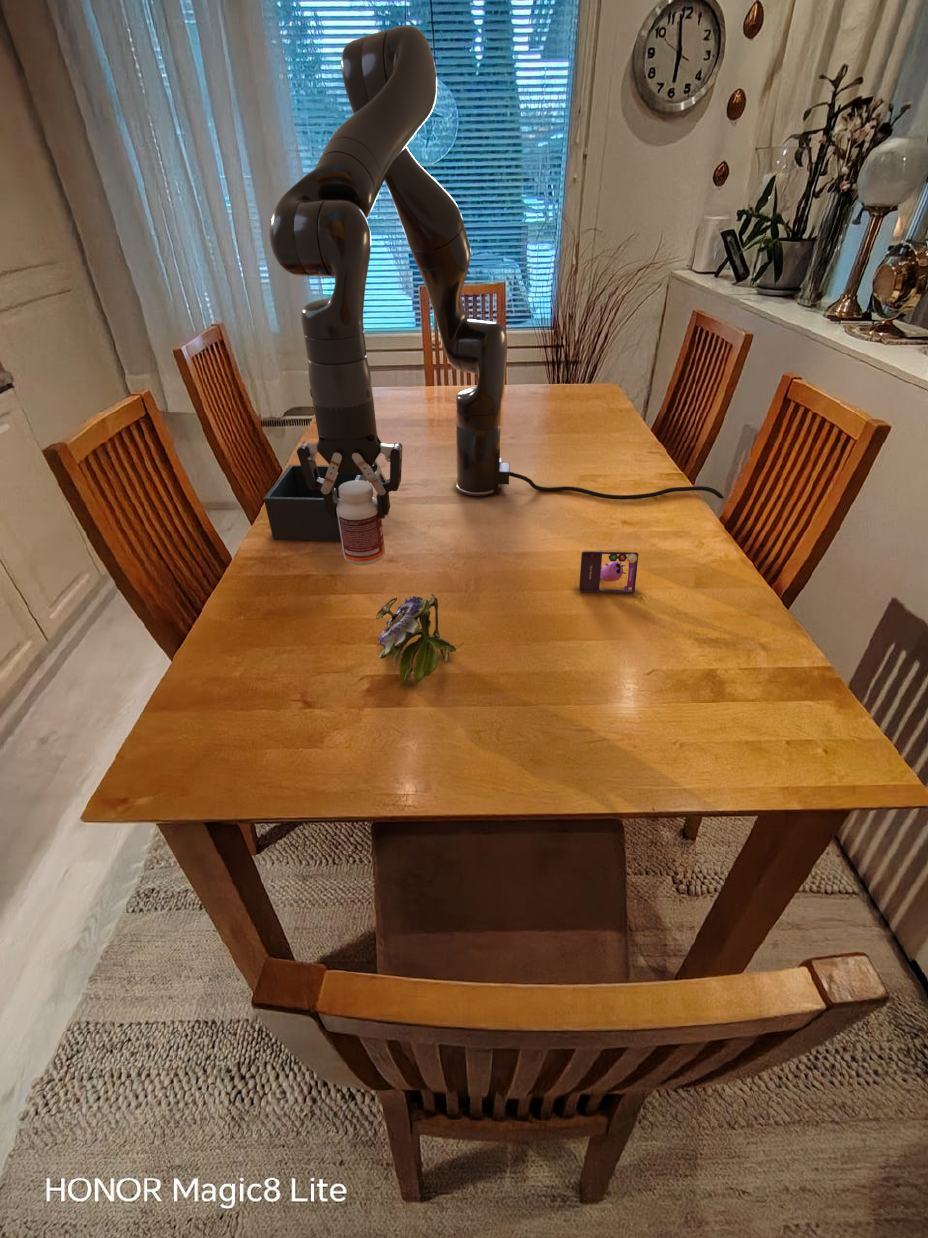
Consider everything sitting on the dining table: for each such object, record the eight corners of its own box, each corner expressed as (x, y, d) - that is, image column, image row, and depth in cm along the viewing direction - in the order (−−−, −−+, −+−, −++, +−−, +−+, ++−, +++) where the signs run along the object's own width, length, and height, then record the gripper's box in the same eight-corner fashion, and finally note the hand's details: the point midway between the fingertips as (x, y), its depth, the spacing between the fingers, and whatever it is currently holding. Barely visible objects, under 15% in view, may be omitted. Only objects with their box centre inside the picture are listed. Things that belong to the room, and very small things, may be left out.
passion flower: (395, 679, 88) (384, 599, 88) (466, 670, 87) (455, 589, 87) (373, 691, 77) (360, 601, 77) (454, 682, 76) (441, 589, 75)
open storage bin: (370, 504, 123) (365, 465, 118) (354, 541, 111) (348, 500, 106) (297, 502, 124) (289, 464, 119) (273, 539, 112) (263, 498, 107)
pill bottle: (392, 558, 87) (385, 489, 80) (354, 571, 84) (344, 501, 78) (374, 541, 91) (365, 474, 84) (337, 552, 88) (325, 484, 82)
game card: (582, 552, 94) (639, 553, 94) (578, 546, 99) (632, 547, 99) (579, 593, 96) (635, 594, 96) (575, 585, 101) (628, 586, 101)
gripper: (404, 386, 76) (412, 504, 86) (294, 386, 77) (316, 503, 87) (394, 405, 70) (405, 529, 80) (276, 404, 71) (302, 527, 81)
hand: (358, 515), depth 84 cm, fingers closed on pill bottle, 6 cm apart
